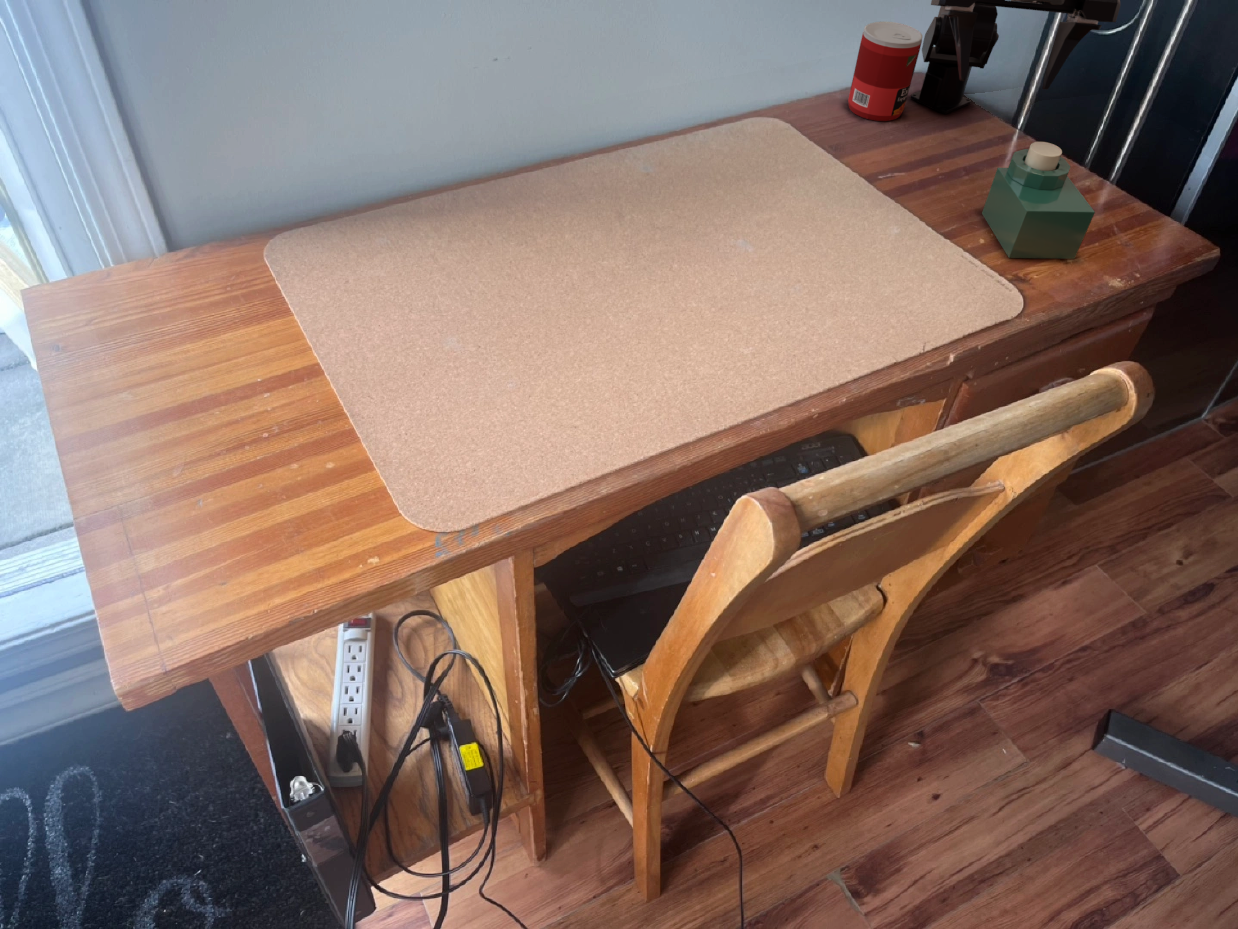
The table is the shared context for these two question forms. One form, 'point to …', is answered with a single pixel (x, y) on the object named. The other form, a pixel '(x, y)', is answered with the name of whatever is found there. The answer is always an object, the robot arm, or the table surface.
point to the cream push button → (1043, 156)
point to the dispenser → (1037, 211)
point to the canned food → (884, 70)
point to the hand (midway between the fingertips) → (1003, 84)
